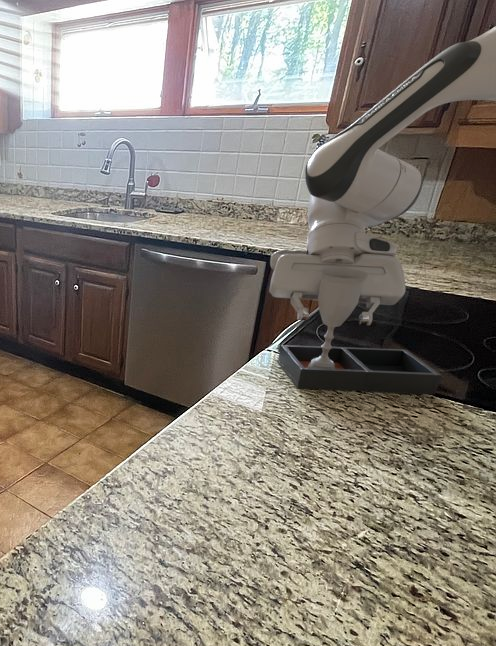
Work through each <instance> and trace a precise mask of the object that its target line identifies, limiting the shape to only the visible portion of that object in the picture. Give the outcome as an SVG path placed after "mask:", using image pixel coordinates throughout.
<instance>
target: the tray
mask: <svg viewBox="0 0 496 646" xmlns="http://www.w3.org/2000/svg"><path fill="white" fill-rule="evenodd" d="M322 353H323V349H322V347H321V345H320V346H319V345H296V344H295V345H294V344H281V345H280V348H279V354H278V357H277V364H278V365H279V366H280V368H281V369H282V370H283V372H284V374H286V375H287V377H288V378H289V380H290V381H291V382H292V384H293V385H294V386H295V388H297V389H303V390H305V389H306V390H324V391H344V392H345V391H347V392H367V393H387V394H388V393H389V394H407V395H408V394H409V395H428V396H429V395H432V396H433V395H434V396H435V395H436V394H437V390H438V388H439V385H440V382H441V379H442V376H443V375H442V374H441V373H440V372H438V371H437V370H435V369H434V368H433V367H431V366H429V364H427V363H425V362H424V361H423V360H421V359H420V358H418V357H417V356H416V355H414V354H413V353H412V352H410V351H409V350H407V349H404V348H381V347H378V348H377V347H375V348H374V347H353V346H351V347H350V346H348V347H347V346H332V349H330V350H329V352H328V357H329V359H330V360H332V361H333V362H334V364H335V369H324V368H306V367H308V364H309V363H311V361H312V360H313V359H314V358H316V357H319V356H321V355H322Z"/></svg>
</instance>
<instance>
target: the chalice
mask: <svg viewBox="0 0 496 646" xmlns="http://www.w3.org/2000/svg"><path fill="white" fill-rule="evenodd" d="M320 271H321V275H322V281H321V286H320V290H319V295H318V300H317V303H318V304H317V305H318V311H319V314H320V318H321V321H322V324H324V326H326V327H327V331H326V333H325V334H324V335H323V337H324V343H323V344H322V345H320V346H321V347H322V349H323V353H322V355H321V356H319V357H316V358H314V359H313V360H312V361H311V363H309V364H308V367H306V368H324V369H335V364H334V362H333V361H332V360H330V359H329V357H328V352H329V350H330V349H332V347H333V346H332V345H331V344H332V343H331V342H332V341H333V339H334V338H335V336H334V331H335V328H338V327H341V326H342V324H344V323H345V321H346V320H347V319H348V318H349V317H350V315H351V314H352V313H353V311H354V310H355V309H356V307H357V305H358V304H359V303H358V301H359V297H360V293H361V289H362V285H363V281H364V280H365V279H366V278H367V276H368V274H367V273H366V272H363V271H360V270H355V269H348V268H325V269H322V270H320Z"/></svg>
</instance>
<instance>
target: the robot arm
mask: <svg viewBox="0 0 496 646" xmlns="http://www.w3.org/2000/svg"><path fill="white" fill-rule="evenodd" d="M461 101H462V102H463V101H488V102H489V101H490V102H496V25H495V26H494V27H492V28H491V29H489V30H487V31H485V32H484V33H482V34H481V35H478V36H477V37H474V38H473V39H471V40H468V41H461V42H456V43H455V44H453V45H451V46H449V47H447V48H446V49H444V50H443V51H441V52H440V53H438V54H437V55H436V56H434V57H433V58H432V59H430V60H429V61H428V62H426V63H424V64H423V65H422V67H420V68H419V69H418V70H416V71H414V73H413V74H411V75H410V76H409V77H408V78H406V79H405V80H404V81H403V82H401V83H400V84H398V86H397V87H395V88H394V89H393V90H392V91H391V92H389V93H388V94H387V95H386V96H384V97H383V98H382V99H381V100H380V101H378V102H377V103H376V104H375V105H373V107H372V108H369V110H367V111H366V112H365V113H364V114H363V115H362V116H360V117H359V118H357V120H356V121H354V122H353V123H352V124H350V125H348V126H347V127H346V128H345V129H343V130H342V131H340V132H339V133H337V134H335V135H334V136H332V137H330V138H329V139H327V140H326V141H324V142H323V143H322V144H320V146H318V147H317V148H316V149H315V150H314V151H313V152H312V154H311V155H310V156H309V158H308V160H307V162H306V165H305V170H304V178H305V185H306V188H307V191H308V193H309V194H310V195H309V198H308V199H309V200H308V207H307V224H308V227H309V230H308V234H307V236H306V249H280V250H278V251H275V252H273V253H272V254H271V256H270V260H269V266H270V268H271V271H272V274H271V279H270V284H269V291H268V292H269V294H270V295H271V296H272V297H273V298H276V299H277V298H278V299H279V298H280V299H290V305H291V306H292V307H293V309H294V310H295V312H296V320H297V321H308V319H309V316H310V313H309V312H310V307H305V306H304V305H303V303H302V300H309V301H318V295H319V290H320V286H321V281H322V275H321V271H320V270H322V269H325V268H348V269H355V270H360V271H363V272H366V273H367V274H368V276H367V278H366V279H365V280H364V281H363V285H362V289H361V293H360V297H359V301H358V304H365V308H366V309H368V310H367V311H361V313H360V314H359V316H358V325H359V326H371V324H372V323H373V314H374V312H375V311H376V310H377V308H378V307H379V306H380V305H382V306H394V305H396V304H397V303H398V302H399V301H400V300H401V299H402V298H403V297H404V295H406V294H405V293H406V291H407V290H406V287H407V286H406V278H405V277H406V276H405V273H404V268H403V267H404V266H403V265H402V263H401V261H400V259H399V258H397V257H395V256H396V254H397V252H398V244H397V243H395V242H394V241H391V240H386V239H382V238H380V237H379V238H378V237H376V236H373V235H370V234H368V233H365V230H366V229H367V228H369V229H371V228H374V227H376V226H379V225H382V224H384V223H387V222H389V221H392V220H394V219H396V218H398V217H400V216H402V215H404V214H405V213H407V212H408V211H409V210H410V209H411V208H413V206H414V205H415V204H416V202H417V200H418V199H419V196H420V195H421V191H422V188H423V183H424V182H423V174H422V172H421V170H420V169H419V168H417V167H415V166H414V165H412V164H410V163H409V162H407V161H405V160H403V159H401V158H399V157H397V156H395V155H391V154H390V153H387V152H386V151H383V150H381V149H380V148H382V146H383V145H385V144H386V143H388V142H389V141H390V140H391V139H392V138H394V137H395V136H397V135H398V134H399V133H401V132H402V131H403V130H404V129H405V128H407V127H408V126H410V125H411V124H412V123H413V122H415V121H416V120H418V119H419V118H420V117H422V116H423V115H424V114H425V113H427V112H429V111H430V110H433V109H434V108H436V107H439V106H442V105H445V104H448V103H454V102H461Z"/></svg>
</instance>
